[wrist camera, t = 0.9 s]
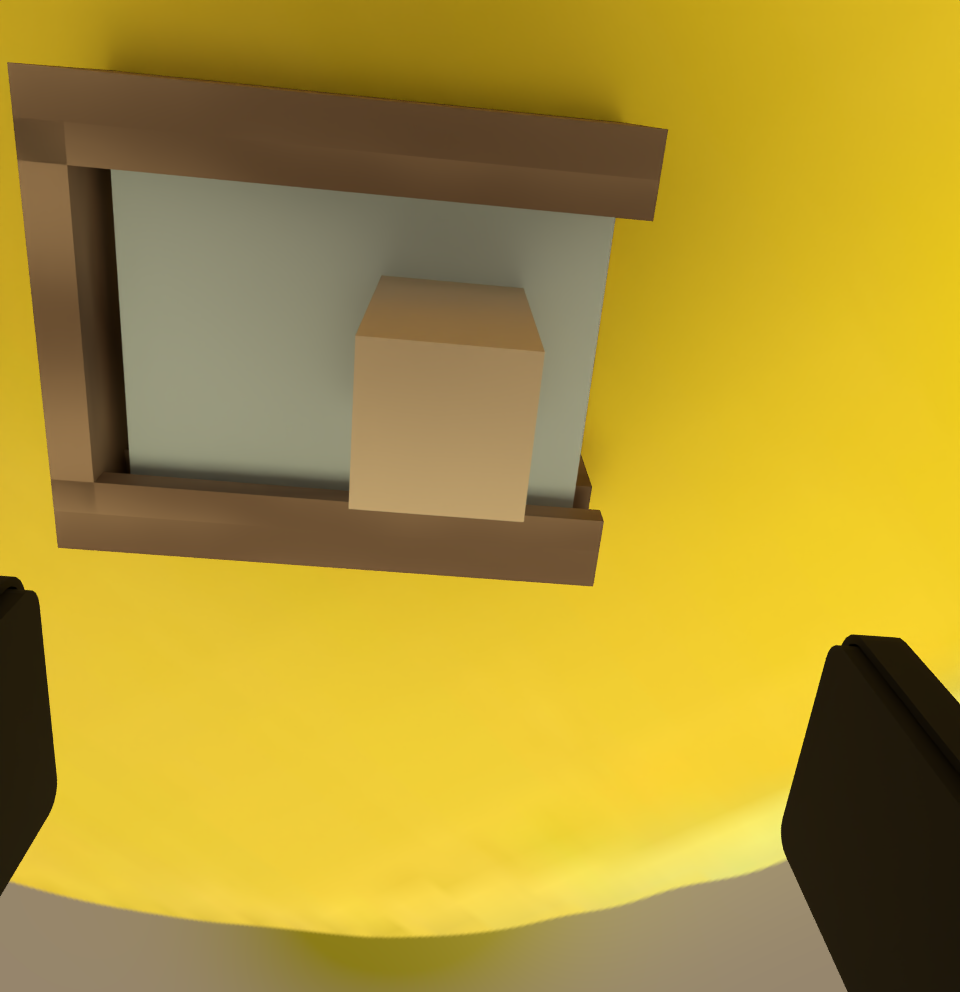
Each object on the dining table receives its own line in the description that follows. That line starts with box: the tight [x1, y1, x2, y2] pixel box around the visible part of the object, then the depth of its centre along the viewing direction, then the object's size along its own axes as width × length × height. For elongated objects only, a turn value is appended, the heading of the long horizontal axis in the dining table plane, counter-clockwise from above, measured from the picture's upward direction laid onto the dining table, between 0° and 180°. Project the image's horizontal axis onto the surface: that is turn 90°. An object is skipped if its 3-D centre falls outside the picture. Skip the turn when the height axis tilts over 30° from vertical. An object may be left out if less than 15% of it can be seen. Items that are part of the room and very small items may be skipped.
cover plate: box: [111, 169, 615, 522], centre depth 23 cm, size 10×14×8 cm
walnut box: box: [7, 62, 668, 586], centre depth 28 cm, size 13×16×7 cm
